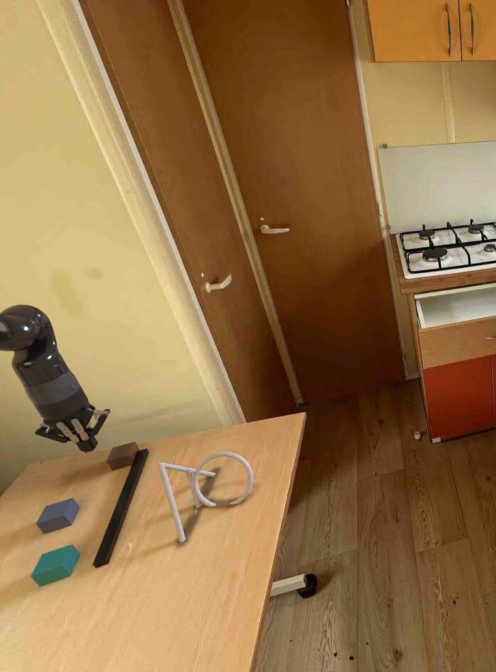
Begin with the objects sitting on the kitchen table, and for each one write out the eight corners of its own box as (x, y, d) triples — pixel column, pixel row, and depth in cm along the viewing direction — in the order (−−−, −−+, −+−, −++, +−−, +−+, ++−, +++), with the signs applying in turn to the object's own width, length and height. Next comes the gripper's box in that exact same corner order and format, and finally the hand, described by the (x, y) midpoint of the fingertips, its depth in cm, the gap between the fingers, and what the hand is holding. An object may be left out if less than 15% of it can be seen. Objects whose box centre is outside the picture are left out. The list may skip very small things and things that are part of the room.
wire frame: (279, 492, 103) (245, 526, 87) (224, 510, 102) (180, 548, 86) (259, 422, 103) (221, 443, 88) (204, 439, 102) (156, 463, 86)
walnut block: (114, 474, 102) (106, 461, 100) (120, 460, 106) (112, 447, 103) (137, 467, 104) (129, 454, 102) (142, 454, 107) (135, 441, 105)
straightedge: (98, 571, 82) (92, 564, 81) (141, 457, 106) (137, 450, 105) (111, 567, 83) (105, 559, 82) (151, 455, 107) (147, 448, 106)
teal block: (42, 590, 79) (30, 576, 77) (53, 567, 83) (41, 553, 81) (73, 579, 81) (62, 565, 79) (83, 557, 85) (72, 543, 82)
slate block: (46, 537, 88) (35, 524, 86) (56, 519, 92) (45, 505, 90) (74, 528, 90) (64, 515, 88) (82, 510, 93) (73, 497, 91)
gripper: (101, 374, 97) (131, 429, 104) (23, 389, 92) (61, 447, 99) (88, 394, 91) (121, 451, 98) (4, 412, 86) (46, 471, 93)
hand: (90, 449), depth 99 cm, fingers closed
